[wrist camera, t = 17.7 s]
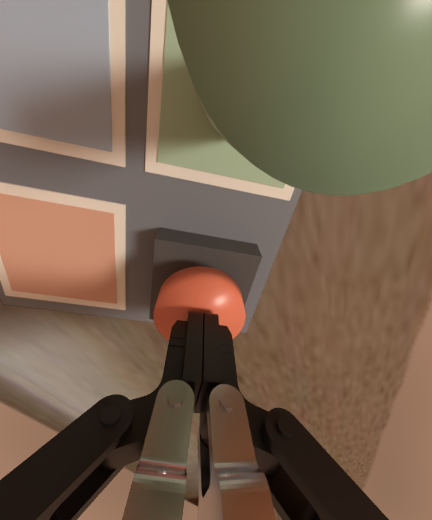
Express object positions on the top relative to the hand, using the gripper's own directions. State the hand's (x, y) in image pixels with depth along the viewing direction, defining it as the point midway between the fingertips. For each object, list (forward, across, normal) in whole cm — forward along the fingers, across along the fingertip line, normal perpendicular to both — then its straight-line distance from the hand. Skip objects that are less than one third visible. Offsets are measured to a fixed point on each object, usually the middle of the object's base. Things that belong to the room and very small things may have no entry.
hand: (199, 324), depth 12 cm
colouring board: (+5, +4, -5) cm, 8 cm away
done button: (+3, 0, 0) cm, 3 cm away
